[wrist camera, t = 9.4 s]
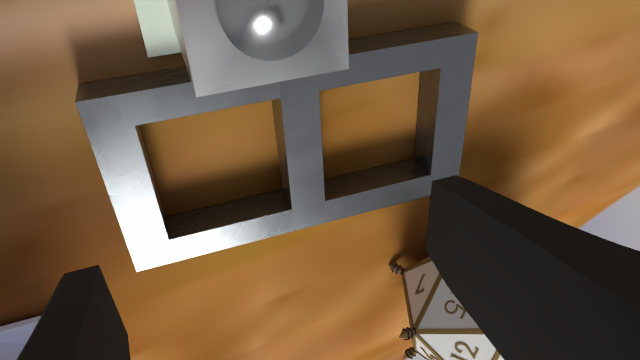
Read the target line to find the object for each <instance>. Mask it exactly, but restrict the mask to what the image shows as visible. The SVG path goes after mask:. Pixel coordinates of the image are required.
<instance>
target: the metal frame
mask: <svg viewBox="0 0 640 360" xmlns="http://www.w3.org/2000/svg"><path fill="white" fill-rule="evenodd" d="M477 37H478V32H476V31H474V30H472V29H470V28H468V27H466V26H464V25H462V24H460V23H458V22H451V23H445V24H439V25H433V26H427V27H421V28H415V29H409V30H403V31H397V32H391V33H385V34H378V35H372V36H366V37H360V38H354V39H348V50H349V69H345V70H340V71H335V72H329V73H324V74H319V75H313V76H308V77H303V78H297V79H292V80H287V81H281V82H276V83H271V84H265V85H260V86H255V87H249V88H244V89H239V90H233V91H228V92H223V93H217V94H212V95H207V96H201V97H196V95H195V92H194V89H193V86H192V83H191V80H190V77H189V74H188V71H187V68H186V66H185V67H179V68H173V69H166V70H160V71H154V72H148V73H142V74H136V75H130V76H124V77H118V78H112V79H106V80H100V81H94V82H88V83H82V84H78V90H77V96H76V105H77V108H78V111H79V114H80V116H81V119H82V122H83V125H84V127H85V130H86V133H87V136H88V138H89V141H90V144H91V147H92V150H93V152H94V155H95V158H96V161H97V163H98V166H99V169H100V172H101V175H102V177H103V180H104V183H105V186H106V188H107V191H108V194H109V197H110V199H111V202H112V205H113V208H114V211H115V213H116V216H117V219H118V222H119V224H120V227H121V230H122V233H123V235H124V238H125V241H126V244H127V247H128V249H129V252H130V255H131V258H132V260H133V263H134V266H135V269H136V272H138V271H142V270H146V269H150V268H153V267H157V266H161V265H165V264H169V263H173V262H176V261H180V260H184V259H188V258H192V257H196V256H200V255H203V254H207V253H211V252H215V251H219V250H223V249H226V248H230V247H234V246H238V245H242V244H246V243H250V242H253V241H257V240H261V239H265V238H269V237H273V236H277V235H280V234H284V233H288V232H292V231H296V230H300V229H303V228H307V227H311V226H315V225H319V224H323V223H327V222H330V221H334V220H338V219H342V218H346V217H350V216H353V215H357V214H361V213H365V212H369V211H373V210H377V209H380V208H384V207H388V206H392V205H396V204H400V203H403V202H407V201H411V200H415V199H419V198H423V197H427V196H430V195H431V187H432V181H434V180H438V179H442V178H446V177H450V176H454V175H457V176H459V173H460V165H461V158H462V150H463V143H464V135H465V128H466V120H467V113H468V105H469V97H470V90H471V82H472V75H473V67H474V60H475V52H476V45H477ZM416 72H420V83H419V98H418V112H417V127H416V141H415V155H414V158H413V159H409V160H405V161H400V162H396V163H392V164H388V165H383V166H379V167H375V168H371V169H367V170H362V171H358V172H354V173H350V174H345V175H341V176H337V177H333V178H329V179H324V173H323V155H322V136H321V118H320V100H319V91H321V90H326V89H332V88H337V87H342V86H347V85H353V84H358V83H363V82H368V81H374V80H379V79H384V78H390V77H395V76H400V75H405V74H411V73H416ZM268 100H272V104H273V113H274V122H275V131H276V139H277V148H278V157H279V166H280V175H281V183H282V190H278V191H274V192H269V193H265V194H261V195H257V196H253V197H248V198H244V199H240V200H236V201H232V202H227V203H223V204H219V205H215V206H210V207H206V208H202V209H198V210H194V211H189V212H185V213H181V214H177V215H172V216H168V217H165V214H164V210H163V207H162V203H161V200H160V196H159V193H158V189H157V186H156V182H155V179H154V176H153V172H152V169H151V165H150V162H149V158H148V155H147V151H146V148H145V144H144V141H143V138H142V134H141V131H140V127H139V125H142V124H147V123H152V122H158V121H163V120H168V119H173V118H179V117H184V116H189V115H194V114H200V113H205V112H210V111H216V110H221V109H226V108H231V107H237V106H242V105H247V104H252V103H258V102H263V101H268Z"/></svg>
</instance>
